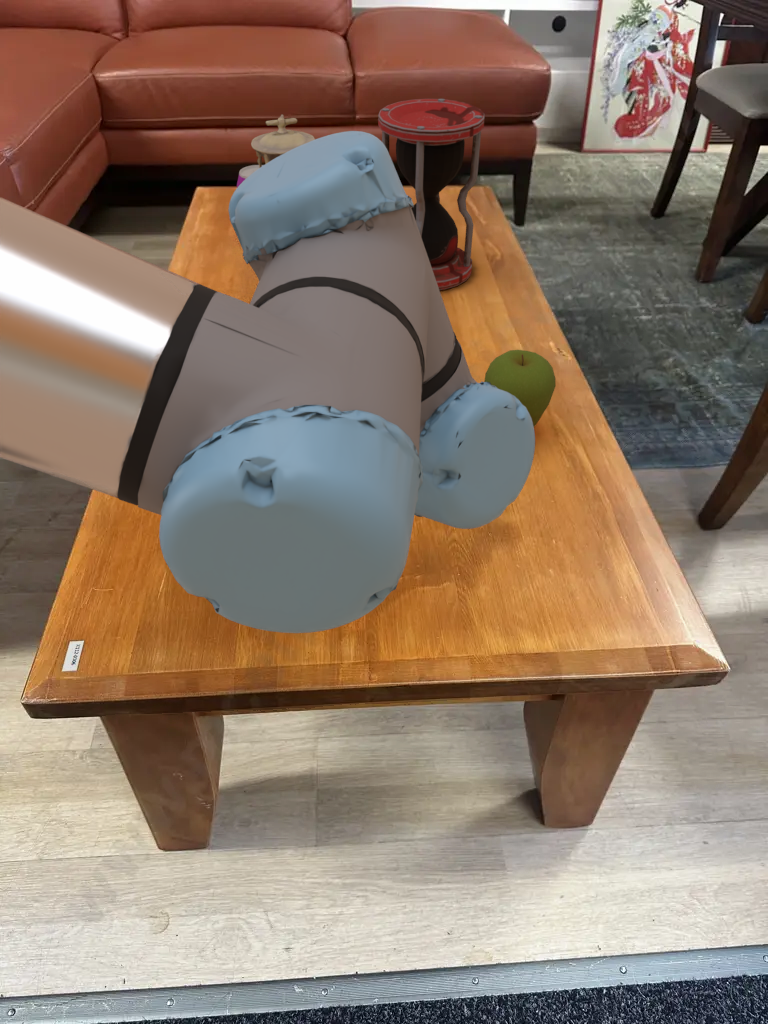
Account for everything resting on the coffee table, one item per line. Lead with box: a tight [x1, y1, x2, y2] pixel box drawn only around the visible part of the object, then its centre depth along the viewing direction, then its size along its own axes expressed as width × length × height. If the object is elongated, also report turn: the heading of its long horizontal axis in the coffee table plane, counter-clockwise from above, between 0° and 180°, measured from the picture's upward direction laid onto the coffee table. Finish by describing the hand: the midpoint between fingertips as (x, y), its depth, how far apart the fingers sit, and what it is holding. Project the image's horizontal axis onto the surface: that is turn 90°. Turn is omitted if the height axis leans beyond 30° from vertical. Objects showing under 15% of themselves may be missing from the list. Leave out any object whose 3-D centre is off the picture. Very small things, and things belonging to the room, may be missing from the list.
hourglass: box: [377, 98, 485, 291], centre depth 119 cm, size 16×16×25 cm
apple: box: [483, 349, 557, 428], centre depth 91 cm, size 9×8×12 cm
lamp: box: [250, 114, 316, 168], centre depth 104 cm, size 10×13×30 cm
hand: (175, 353), depth 62 cm, fingers open, 13 cm apart
